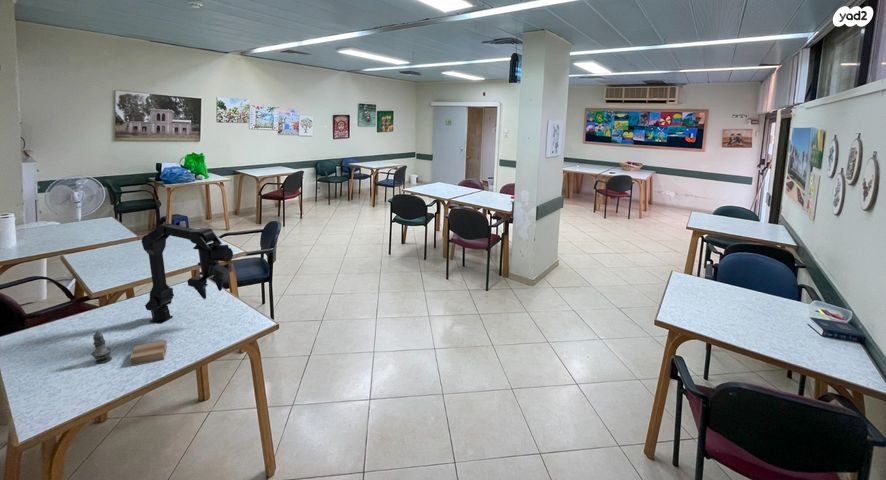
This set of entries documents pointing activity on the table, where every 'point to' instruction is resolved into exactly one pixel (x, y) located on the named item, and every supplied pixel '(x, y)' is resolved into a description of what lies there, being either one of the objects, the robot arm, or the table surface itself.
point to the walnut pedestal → (148, 352)
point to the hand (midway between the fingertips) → (212, 294)
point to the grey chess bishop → (101, 349)
